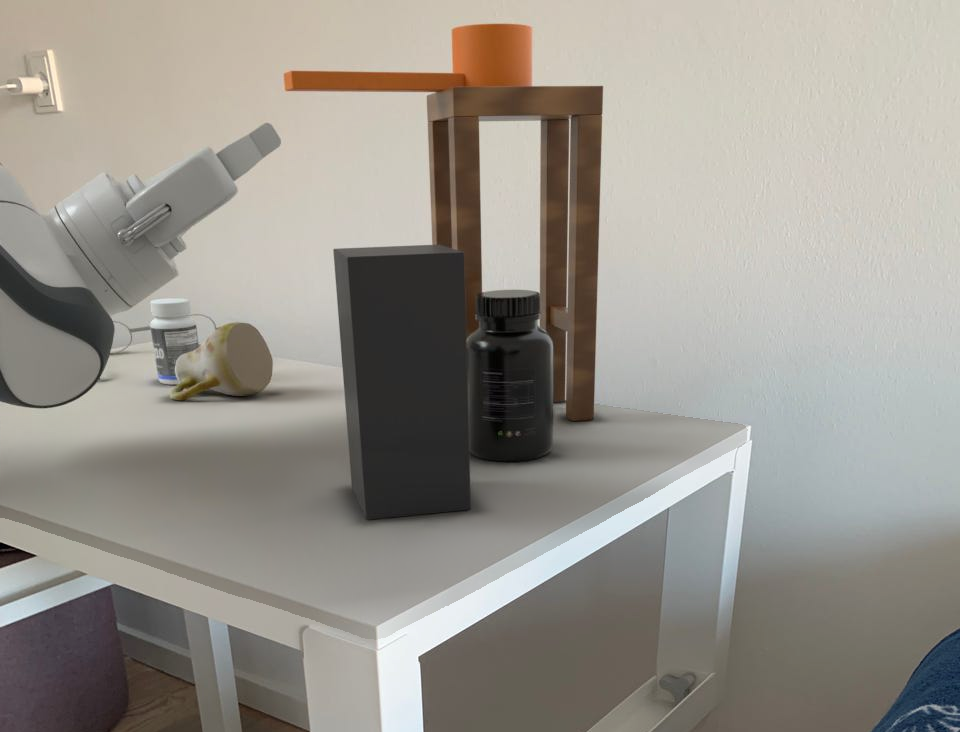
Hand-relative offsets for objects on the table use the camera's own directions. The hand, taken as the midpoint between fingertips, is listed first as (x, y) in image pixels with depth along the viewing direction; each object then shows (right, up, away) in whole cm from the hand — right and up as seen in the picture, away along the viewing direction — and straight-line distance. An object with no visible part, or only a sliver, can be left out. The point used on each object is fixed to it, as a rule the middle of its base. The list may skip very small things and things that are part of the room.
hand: (271, 134), depth 78 cm
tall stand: (+19, -19, +14) cm, 30 cm away
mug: (-10, -14, +24) cm, 30 cm away
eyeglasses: (-22, -6, +43) cm, 49 cm away
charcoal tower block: (+11, -30, -9) cm, 33 cm away
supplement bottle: (+19, -25, +2) cm, 31 cm away
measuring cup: (+11, +4, +1) cm, 12 cm away
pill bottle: (-16, -11, +32) cm, 37 cm away
